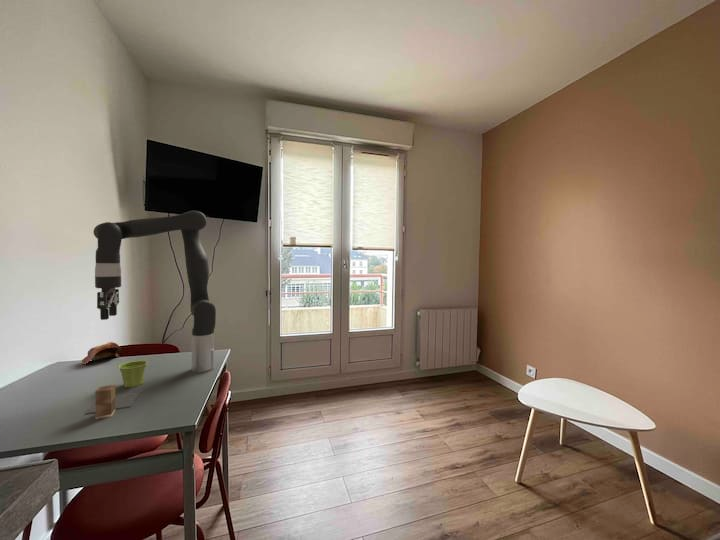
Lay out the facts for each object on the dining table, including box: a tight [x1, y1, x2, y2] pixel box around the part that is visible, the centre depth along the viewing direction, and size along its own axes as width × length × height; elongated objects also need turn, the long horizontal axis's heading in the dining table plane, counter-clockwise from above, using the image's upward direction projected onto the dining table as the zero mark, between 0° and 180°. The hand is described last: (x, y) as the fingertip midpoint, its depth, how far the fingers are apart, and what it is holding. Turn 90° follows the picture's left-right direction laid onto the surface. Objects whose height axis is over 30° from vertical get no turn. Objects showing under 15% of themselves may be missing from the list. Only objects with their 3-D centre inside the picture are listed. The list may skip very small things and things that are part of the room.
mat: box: [85, 391, 140, 415], centre depth 103 cm, size 12×12×1 cm
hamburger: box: [81, 341, 122, 365], centre depth 144 cm, size 16×13×10 cm
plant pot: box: [118, 360, 148, 388], centre depth 118 cm, size 9×9×9 cm
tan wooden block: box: [94, 384, 116, 420], centre depth 95 cm, size 4×4×9 cm
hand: (109, 317), depth 109 cm, fingers open, 8 cm apart
